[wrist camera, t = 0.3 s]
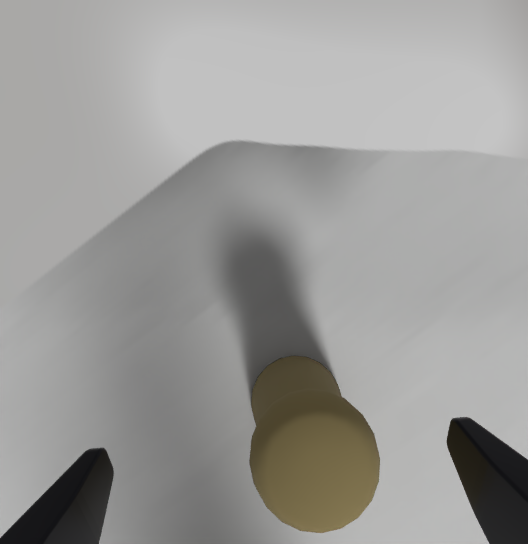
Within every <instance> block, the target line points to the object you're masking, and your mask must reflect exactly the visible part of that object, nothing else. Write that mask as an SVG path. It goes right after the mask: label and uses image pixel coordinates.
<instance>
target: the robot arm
mask: <svg viewBox="0 0 528 544" xmlns="http://www.w3.org/2000/svg"><path fill="white" fill-rule="evenodd" d="M447 446H448V450H449V452H450V455H451V457H452V460H453V462H454V465H455V467H456V470H457V472H458V475H459V477H460V480H461V482H462V485H463V487H464V490H465V492H466V495H467V497H468V500H469V502H470V505H471V507H472V509H473V512H474V514H475V516H476V518H477V520H478V522H479V524H480V526H481V528H482V530H483V532H484V534H485V536H486V538H487V540H488V542H489V544H528V459H526V458H525V457H523V456H522V455H521V454H519V453H518V452H516V451H515V450H514V449H512V448H511V447H510V446H508V445H507V444H505V443H504V442H503V441H501V440H500V439H499V438H497V437H496V436H494V435H493V434H492V433H490V432H489V431H487V430H486V429H485V428H483V427H482V426H481V425H479V424H478V423H476V422H475V421H474V420H472V419H471V418H468V417H460V418H453V419H452V420H451V422H450V426H449V431H448V436H447ZM113 475H114V470H113V466H112V464H111V461H110V459H109V456H108V454H107V451H106V450H105V449H104V448H93V449H88V450H87V451H85V452H84V453H83V454H82V455H81V456H80V457H79V458H78V459H77V460H76V461H75V462H74V463H73V464H72V466H71V467H70V468H69V469H68V470H67V471H66V472H65V473H64V474H63V475H62V476H61V477H60V478H59V479H58V480H57V481H56V482H55V483H54V484H53V485H52V486H51V487H50V488H49V489H48V490H47V491H46V492H45V493H44V494H43V495H42V496H41V497H40V498H39V499H38V500H37V501H36V502H35V503H34V504H33V505H32V506H31V507H30V508H29V509H28V510H27V511H26V512H25V513H24V514H23V515H22V516H21V517H20V518H19V519H18V520H17V521H16V522H15V523H14V524H13V525H12V526H11V528H10V529H9V530H8V531H7V532H6V533H5V534H4V535H3V536H2V537H1V538H0V544H99V540H100V536H101V532H102V527H103V523H104V518H105V513H106V509H107V504H108V500H109V495H110V490H111V486H112V481H113Z"/></svg>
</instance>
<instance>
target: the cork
mask: <svg viewBox="0 0 528 544" xmlns="http://www.w3.org/2000/svg"><path fill="white" fill-rule="evenodd" d="M251 406H252V411H253V416H254V420H255V423H256V428H255V431H254V433H253V436H252V440H251V451H250V467H251V472H252V477H253V482H254V485H255V487H256V489H257V490H258V492H259V494H260V496H261V498H262V500H263V501H264V503H265V505H266V507H267V508H268V509H269V510H270V511H271V512H272V513H273V514H274V515H275V516H276V517H277V518H278V519H280V520H281V521H282V522H283V523H285V524H288V525H290V526H292V527H294V528H296V529H298V530H300V531H307V532H316V533H324V532H328V531H332V530H337V529H341V528H343V527H344V526H346V525H347V524H349V523H350V522H352V521H354V520H355V519H357V518H358V517H359V516H360V515H361V514H362V512H363V511H364V510H365V509H366V507H367V506H368V505H369V503H370V502H371V501H372V498H373V496H374V493H375V490H376V487H377V485H378V482H379V468H380V457H379V452H378V448H377V444H376V440H375V436H374V433H373V431H372V430H371V428H370V426H369V425H368V423H367V421H366V420H365V418H364V416H363V415H362V414H361V413H360V412H359V411H358V410H357V409H356V408H355V407H353V406H352V405H351V404H350V403H349V402H348V401H347V400H346V399H344V398H343V397H342V396H341V393H340V390H339V387H338V384H337V382H336V381H335V379H334V377H333V376H332V374H331V372H330V371H328V370H327V369H326V368H325V367H324V366H323V365H322V364H321V363H319V362H317V361H315V360H312V359H310V358H308V357H301V356H289V357H285V358H281V359H278V360H277V361H275V362H273V363H272V364H270V365H268V366H267V367H266V368H265V369H264V371H263V372H262V373H261V374H260V375H259V376H258V378H257V381H256V383H255V385H254V388H253V391H252V401H251Z"/></svg>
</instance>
